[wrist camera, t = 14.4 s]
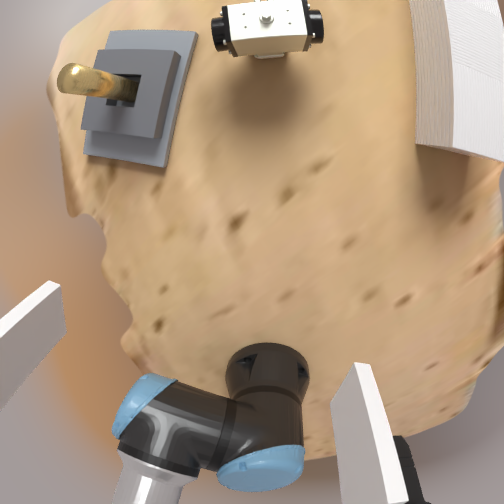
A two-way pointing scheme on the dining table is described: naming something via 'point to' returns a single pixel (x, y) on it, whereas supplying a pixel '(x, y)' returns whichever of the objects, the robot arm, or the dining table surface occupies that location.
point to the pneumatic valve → (267, 28)
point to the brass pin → (96, 83)
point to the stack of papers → (459, 76)
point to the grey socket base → (139, 95)
